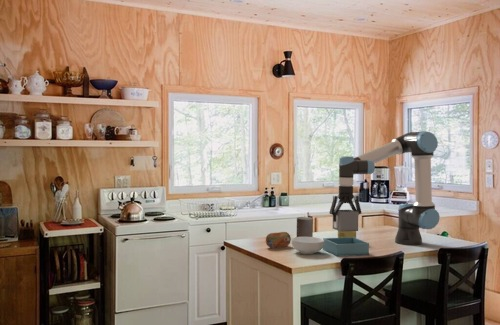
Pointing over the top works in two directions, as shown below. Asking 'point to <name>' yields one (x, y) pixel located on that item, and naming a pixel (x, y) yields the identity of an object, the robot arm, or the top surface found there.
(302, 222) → the pillar candle
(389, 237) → the top surface
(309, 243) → the cereal bowl
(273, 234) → the tin
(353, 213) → the block
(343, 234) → the cheese
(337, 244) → the teal crate
